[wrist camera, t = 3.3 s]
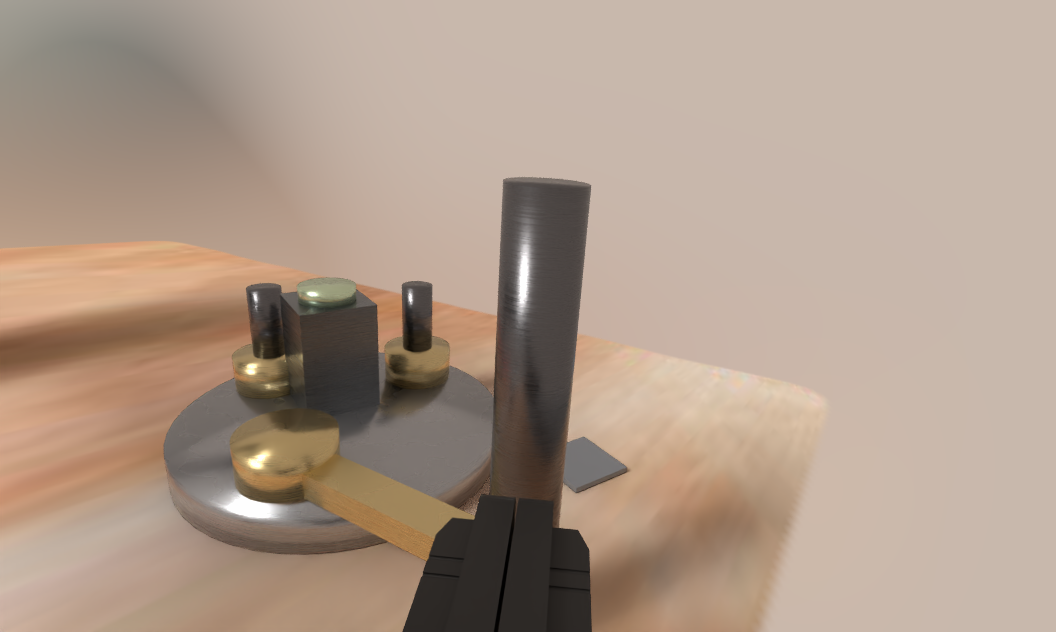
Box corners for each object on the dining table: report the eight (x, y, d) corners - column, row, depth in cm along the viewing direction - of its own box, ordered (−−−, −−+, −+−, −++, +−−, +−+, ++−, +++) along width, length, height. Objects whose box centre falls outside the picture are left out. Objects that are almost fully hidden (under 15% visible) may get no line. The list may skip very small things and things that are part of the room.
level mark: (534, 458, 32) (535, 453, 32) (583, 440, 34) (584, 436, 34) (576, 493, 29) (576, 487, 29) (626, 471, 31) (627, 467, 31)
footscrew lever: (212, 479, 25) (163, 144, 20) (296, 435, 28) (272, 143, 24) (516, 647, 18) (548, 193, 13) (575, 560, 21) (617, 181, 17)
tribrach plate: (156, 415, 34) (130, 272, 31) (420, 361, 43) (419, 247, 40) (193, 618, 21) (155, 403, 18) (558, 476, 30) (572, 321, 27)
